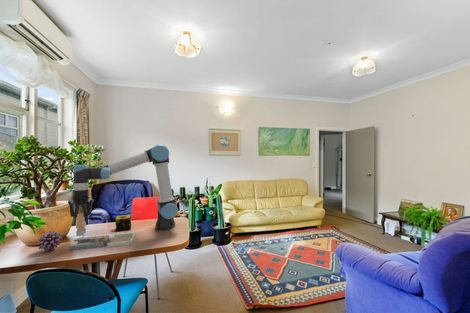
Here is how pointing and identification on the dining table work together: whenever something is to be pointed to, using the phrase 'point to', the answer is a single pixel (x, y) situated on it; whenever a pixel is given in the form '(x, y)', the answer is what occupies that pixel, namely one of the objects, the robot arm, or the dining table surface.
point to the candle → (123, 223)
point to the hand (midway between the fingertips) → (81, 227)
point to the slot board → (89, 244)
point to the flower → (49, 240)
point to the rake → (80, 225)
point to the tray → (122, 241)
